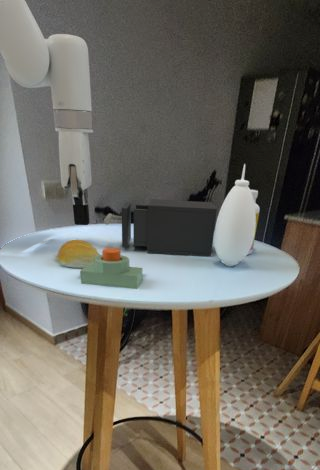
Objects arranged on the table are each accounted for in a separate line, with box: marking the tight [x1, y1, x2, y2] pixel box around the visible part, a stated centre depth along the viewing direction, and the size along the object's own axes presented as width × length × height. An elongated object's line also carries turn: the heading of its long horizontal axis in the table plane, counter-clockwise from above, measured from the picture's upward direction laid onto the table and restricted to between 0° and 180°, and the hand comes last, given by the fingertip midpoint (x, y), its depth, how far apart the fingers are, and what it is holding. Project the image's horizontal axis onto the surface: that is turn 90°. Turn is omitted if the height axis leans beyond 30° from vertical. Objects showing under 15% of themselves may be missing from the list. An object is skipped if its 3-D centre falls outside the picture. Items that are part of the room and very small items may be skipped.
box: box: [79, 254, 144, 289], centre depth 64 cm, size 10×6×4 cm, turn 82°
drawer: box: [103, 202, 148, 248], centre depth 84 cm, size 18×9×8 cm, turn 89°
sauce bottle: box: [213, 163, 256, 267], centre depth 72 cm, size 8×8×18 cm
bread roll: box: [56, 239, 100, 269], centre depth 73 cm, size 8×9×4 cm
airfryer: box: [146, 198, 218, 258], centre depth 84 cm, size 15×10×10 cm
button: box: [102, 247, 121, 261], centre depth 63 cm, size 3×3×2 cm
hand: (82, 223), depth 84 cm, fingers closed
